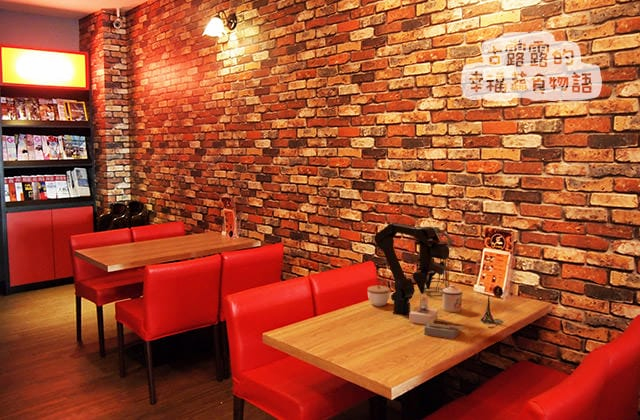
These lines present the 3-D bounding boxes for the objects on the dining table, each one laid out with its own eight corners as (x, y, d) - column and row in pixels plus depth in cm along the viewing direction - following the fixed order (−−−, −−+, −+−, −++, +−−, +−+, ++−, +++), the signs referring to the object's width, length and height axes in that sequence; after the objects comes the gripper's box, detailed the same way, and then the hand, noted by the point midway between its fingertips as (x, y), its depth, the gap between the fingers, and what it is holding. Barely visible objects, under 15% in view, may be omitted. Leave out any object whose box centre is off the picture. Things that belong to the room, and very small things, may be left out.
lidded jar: (365, 306, 257) (365, 287, 256) (370, 300, 267) (370, 281, 266) (387, 308, 254) (387, 289, 252) (391, 302, 264) (392, 283, 262)
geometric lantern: (443, 289, 285) (446, 224, 280) (452, 298, 270) (456, 230, 265) (414, 289, 284) (416, 224, 279) (421, 299, 269) (424, 230, 264)
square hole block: (409, 322, 234) (409, 313, 234) (415, 315, 243) (415, 306, 243) (432, 325, 230) (432, 316, 229) (437, 318, 239) (438, 309, 238)
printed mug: (456, 313, 245) (457, 288, 244) (438, 310, 251) (439, 285, 249) (467, 307, 254) (468, 283, 253) (449, 303, 260) (450, 280, 258)
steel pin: (419, 320, 236) (419, 298, 234) (421, 318, 239) (421, 296, 237) (426, 321, 234) (426, 299, 233) (428, 319, 237) (428, 297, 236)
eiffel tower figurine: (491, 330, 225) (492, 299, 223) (469, 324, 232) (470, 294, 230) (507, 321, 236) (508, 291, 234) (486, 316, 243) (487, 287, 241)
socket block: (424, 334, 219) (424, 327, 219) (430, 326, 228) (430, 320, 228) (454, 339, 214) (454, 331, 213) (459, 331, 223) (459, 324, 222)
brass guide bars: (428, 325, 220) (428, 319, 220) (432, 321, 225) (432, 314, 225) (462, 330, 214) (462, 323, 214) (465, 326, 219) (465, 319, 219)
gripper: (438, 262, 222) (437, 298, 224) (449, 253, 238) (448, 288, 240) (412, 259, 227) (411, 295, 229) (425, 251, 243) (424, 285, 245)
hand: (425, 291), depth 235 cm, fingers open, 9 cm apart
